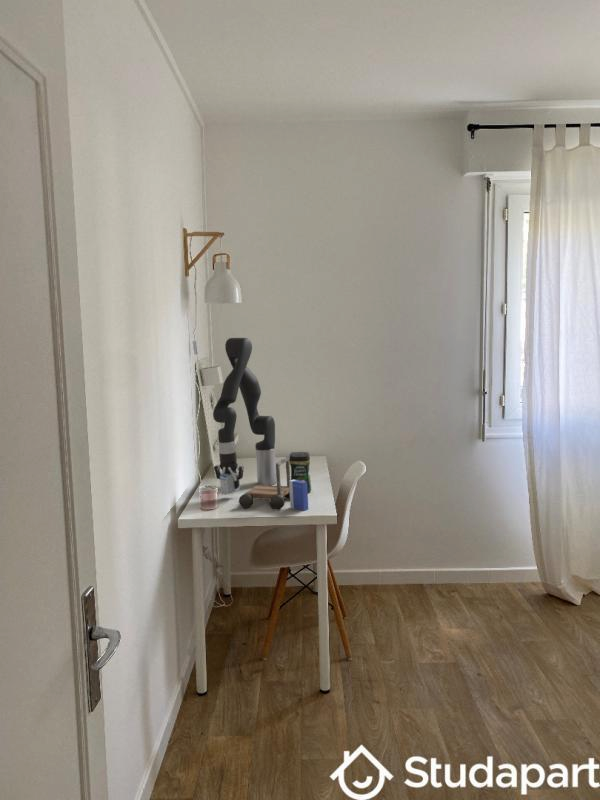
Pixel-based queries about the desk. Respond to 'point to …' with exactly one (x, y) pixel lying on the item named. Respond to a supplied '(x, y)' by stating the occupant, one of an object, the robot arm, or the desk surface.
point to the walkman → (298, 494)
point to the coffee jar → (300, 467)
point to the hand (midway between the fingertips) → (230, 488)
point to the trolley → (269, 490)
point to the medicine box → (228, 484)
